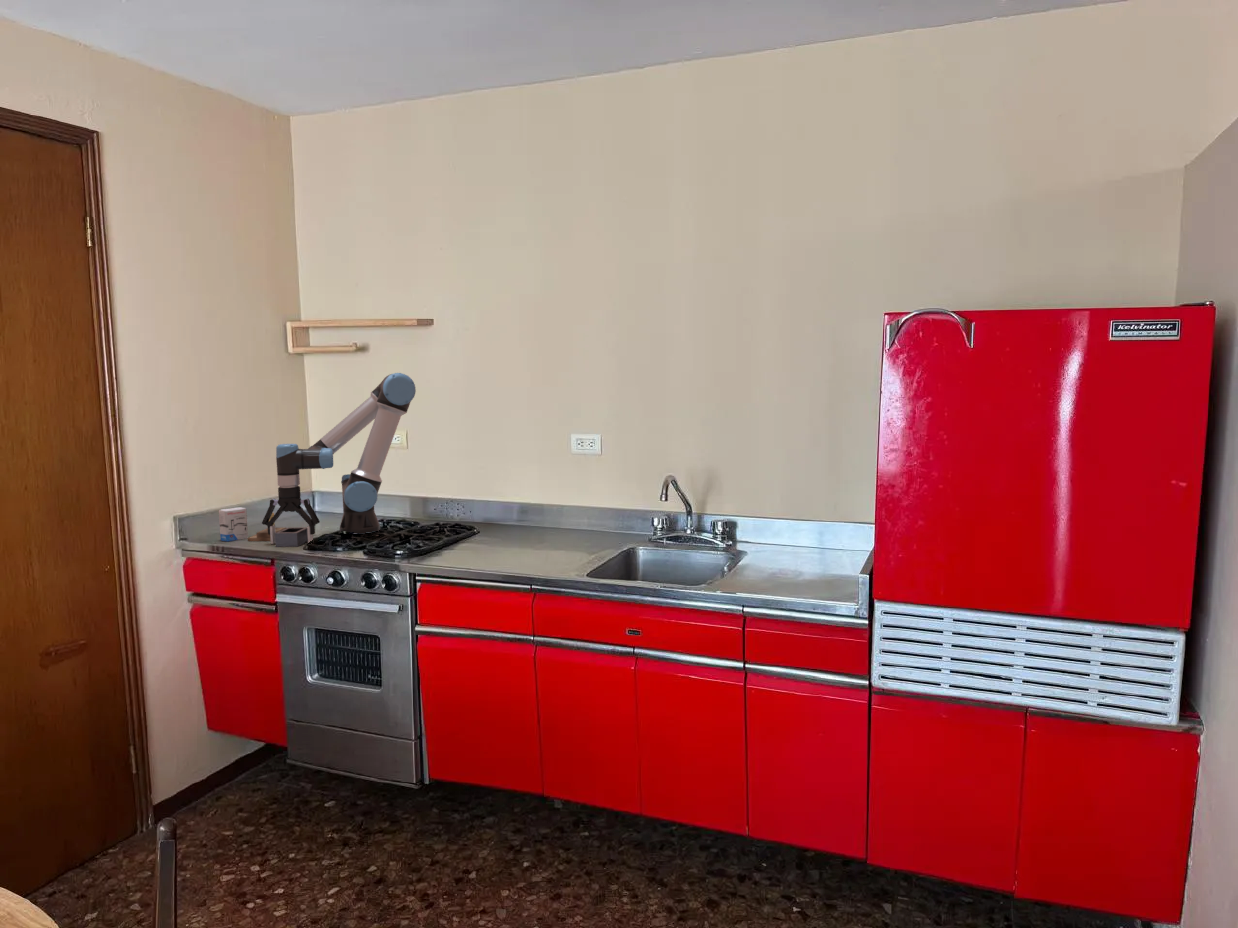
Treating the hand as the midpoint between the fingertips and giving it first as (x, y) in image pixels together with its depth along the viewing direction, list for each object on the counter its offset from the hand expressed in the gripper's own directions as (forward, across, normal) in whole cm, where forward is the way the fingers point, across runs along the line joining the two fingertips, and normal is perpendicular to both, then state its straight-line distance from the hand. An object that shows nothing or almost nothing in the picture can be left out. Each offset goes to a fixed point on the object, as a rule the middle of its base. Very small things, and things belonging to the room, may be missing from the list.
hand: (292, 543), depth 300 cm
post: (-3, +12, -10) cm, 16 cm away
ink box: (0, +26, -10) cm, 28 cm away
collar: (0, 0, 0) cm, 0 cm away
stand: (0, +12, -11) cm, 16 cm away
